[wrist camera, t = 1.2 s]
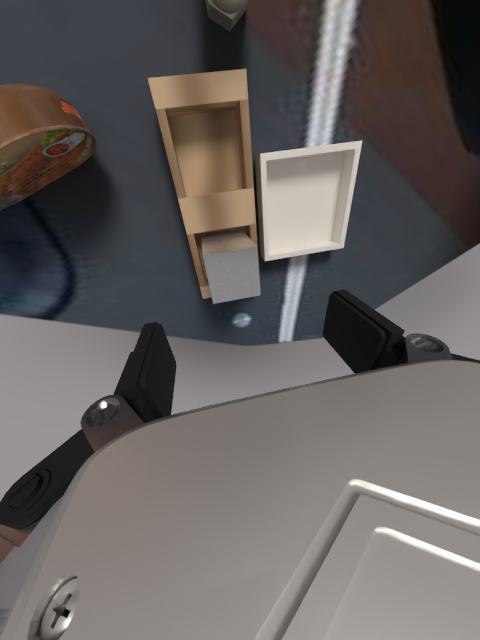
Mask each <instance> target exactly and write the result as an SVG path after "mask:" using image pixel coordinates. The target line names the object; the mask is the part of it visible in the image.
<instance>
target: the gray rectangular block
mask: <svg viewBox="0 0 480 640" xmlns="http://www.w3.org/2000/svg"><path fill="white" fill-rule="evenodd" d="M201 237H202V254H203V260H204V264H205V269H206V273H207V278H208V282H209V287H210V291H211V296H212V300H213V304H216V303H221V302H226V301H232V300H237V299H242V298H248V297H253V296H259V295H260V280H259V264H258V248H257V245H256V244H255V243H254V242H253V241H252V240H251V239H250V238H249V237H248V236H247V235H246V234H245V233H244V232H243V231H242V230H241V229H237V230H231V231H225V232H219V233H212V234H206V235H201Z"/></svg>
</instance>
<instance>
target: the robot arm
mask: <svg viewBox="0 0 480 640" xmlns="http://www.w3.org/2000/svg"><path fill="white" fill-rule="evenodd" d="M403 333H404V330H403V329H402V328H400V327H399V326H397V325H396V324H394V323H393V322H391V321H390V320H388V319H387V318H386V317H384V316H383V315H381V314H380V313H378V312H377V311H375V310H374V309H372V308H371V307H369V306H368V305H367V304H365V303H364V302H362V301H361V300H359V299H358V298H356V297H355V296H353V295H352V294H350V293H349V292H347V291H346V290H339V291H334V292H333V293H332V294H331V295H330V296H329V301H328V306H327V312H326V318H325V323H324V329H323V336H324V338H325V339H326V340H327V342H328V343H329V344H330V345H331V346H332V347H333V348H334V350H335V351H336V352H337V353H338V354H339V356H340V357H341V358H342V359H343V360H344V361H345V363H346V364H347V365H348V366H349V367H350V368H351V370H352V371H353V372H354V373H355V374H352V375H347V376H342V377H337V378H333V379H328V380H323V381H319V382H314V383H309V384H305V385H301V386H296V387H292V388H287V389H282V390H278V391H273V392H268V393H264V394H260V395H255V396H251V397H246V398H242V399H237V400H232V401H228V402H224V403H219V404H215V405H210V406H206V407H202V408H198V409H193V410H190V411H185V412H181V413H177V414H173V415H171V409H172V399H173V391H174V383H175V374H176V361H175V358H174V356H173V353H172V351H171V348H170V345H169V343H168V340H167V337H166V335H165V332H164V330H163V327H162V325H161V324H157V322H154V323H148V324H144V326H143V329H142V331H141V334H140V337H139V339H138V342H137V344H136V347H135V349H134V351H133V352H131V353H130V355H129V357H128V360H127V362H126V365H125V367H124V370H123V372H122V374H121V377H120V379H119V382H118V385H117V387H116V389H115V392H114V394H113V395H109V396H106V397H103V398H101V399H99V400H98V401H96V402H95V403H94V404H93V405H91V406H90V407H89V408H88V409H87V411H86V412H85V413H84V415H83V417H82V419H81V427H82V429H81V430H80V431H78V432H77V433H76V434H75V435H73V436H72V437H71V438H70V439H68V440H67V441H66V442H65V443H63V444H62V445H61V446H60V447H58V448H57V449H56V450H55V451H54V452H52V453H51V454H50V455H48V456H47V457H46V458H45V459H43V460H42V461H41V462H40V463H38V464H37V465H36V466H35V467H33V468H32V469H31V470H29V471H28V472H27V473H26V474H24V475H23V476H22V477H21V478H20V479H19V480H18V481H17V482H15V483H14V484H13V485H12V487H11V488H10V489H9V490H8V491H7V493H6V494H5V495H4V497H3V499H2V500H1V502H0V640H480V361H479V360H475V359H471V358H467V357H463V356H459V355H455V354H451V353H450V351H449V348H448V347H447V345H446V344H445V343H443V342H442V341H440V340H439V339H437V338H435V337H432V336H429V335H425V334H410V335H408V336H407V337H406V338H405V337H403V336H402V335H403Z"/></svg>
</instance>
